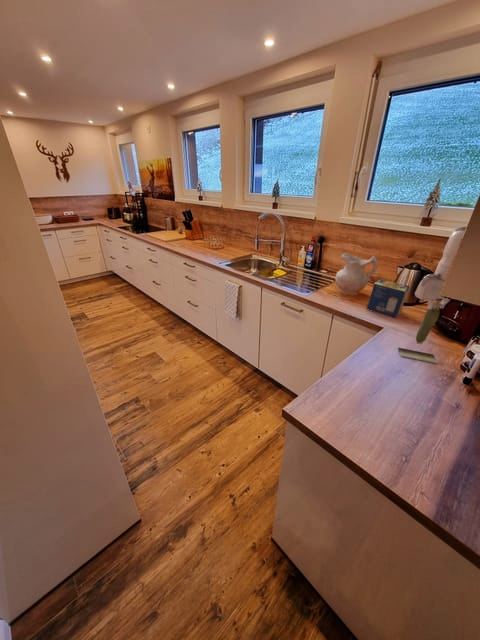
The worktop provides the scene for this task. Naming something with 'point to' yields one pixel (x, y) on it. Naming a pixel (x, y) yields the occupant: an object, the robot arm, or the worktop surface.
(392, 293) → the protein box
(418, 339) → the vegetable
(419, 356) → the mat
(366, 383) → the worktop surface
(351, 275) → the ceramic pitcher
